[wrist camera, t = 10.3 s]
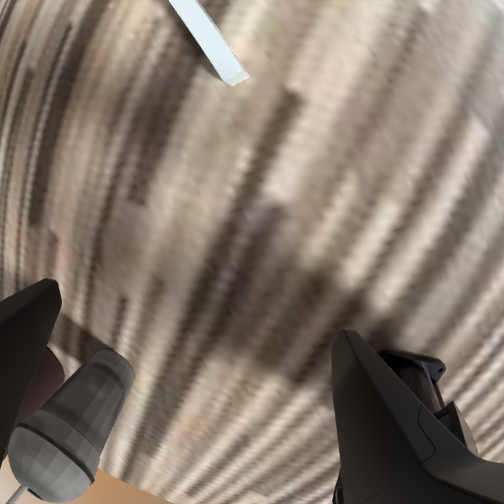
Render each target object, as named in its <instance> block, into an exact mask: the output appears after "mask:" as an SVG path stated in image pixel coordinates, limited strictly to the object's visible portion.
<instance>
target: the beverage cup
mask: <svg viewBox="0 0 504 504" xmlns="http://www.w3.org/2000/svg"><path fill="white" fill-rule="evenodd" d="M134 379H135V373H134V371H133V368H132V367H131V365H130V364H129V362H128V361H126V360H125V359H124V358H123V357H122V356H121V355H119V354H118V353H116V352H113V351H111V350H107V349H102V350H99V351H97V352H96V353H95V354H94V355H93V356H92V357H91V358H89V359H88V360H87V361H86V362H85V363H84V364H83V365H82V366H81V367H80V368H79V369H78V370H77V371H76V372H75V373H74V374H73V375H72V376H71V377H70V378H69V379H68V380H67V381H66V382H65V383H64V384H63V385H62V386H61V387H60V388H59V389H58V390H57V391H56V392H55V393H54V394H53V395H52V396H51V397H50V398H49V399H48V400H47V401H46V402H45V403H44V404H43V405H42V406H41V407H40V408H39V409H38V410H35V411H34V412H33V413H32V414H30V415H29V416H28V417H26V418H25V419H24V420H23V421H22V422H19V423H18V424H16V427H15V431H14V432H13V434H12V436H11V439H10V441H9V446H8V457H9V463H10V467H11V470H12V472H13V474H14V476H15V478H16V479H17V481H18V482H19V483H20V485H21V486H20V487H19V488H18V489H17V491H16V492H15V493H14V494H13V495H12V497H11V498H10V499H9V500H8V501H7V502H6V504H16V502H17V501H18V500H19V499H20V497H21V496H22V495H23V494H24V492H26V490H27V491H28V492H30V493H31V494H32V495H34V496H36V497H37V498H39V499H41V500H43V501H47V502H52V503H65V502H69V501H72V500H74V499H76V498H78V497H79V496H81V495H82V494H83V493H84V492H85V491H86V490H87V488H88V486H90V485H91V484H92V483H93V482H94V481H95V480H94V476H95V474H96V472H97V468H98V465H99V461H100V458H99V457H100V455H101V452H102V450H103V448H104V446H105V443H106V441H107V439H108V437H109V435H110V432H111V430H112V428H113V426H114V424H115V421H116V419H117V417H118V415H119V413H120V411H121V408H122V406H123V404H124V402H125V400H126V398H127V396H128V393H129V391H130V388H131V385H132V383H133V381H134Z"/></svg>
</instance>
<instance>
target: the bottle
mask: <svg viewBox="0 0 504 504" xmlns="http://www.w3.org/2000/svg"><path fill="white" fill-rule="evenodd" d="M64 377H65V375H64V372H63V368H62V366H61V364H60V363H59V361H58V359H57V358H56V357H55V355H54V354H53V353H52V352H51V351H50V350H49V349H48V348H47V347H46V348H45V351H44V353H43V355H42V357H41V359H40V362H39V364H38V366H37V368H36V371H35V373H34V375H33V378H32V380H31V382H30V385H29V387H28V390H27V392H26V395H25V397H24V400H23V402H22V405H21V408H20V410H19V413H18V416H17V418H16V421H15V424H14V427H13V430H12V433H11V435H10V438H9V441H10V439H11V436H12V434H13V432H14V431H15V427H16V424H18V423H19V422H22V421H23V420H24V419H25V418H26V417H28V416H29V415H30V414H32V413H33V412H34V411H35V410H38V409H39V408H40V407H41V406H42V405H43V404H44V403H45V402H46V401H47V400H48V399H49V398H50V397H51V396H52V395H53V394H54V393H55V392H56V391H57V390H58V388H59V387H60V386H61V385H62V384H63V382H64ZM9 441H8V445H7V448H6V451H5V455H4V458H3V460H4V459H5V457H6V456H7V455H8V446H9ZM2 462H3V461H2Z"/></svg>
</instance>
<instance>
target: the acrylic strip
mask: <svg viewBox="0 0 504 504" xmlns="http://www.w3.org/2000/svg"><path fill="white" fill-rule="evenodd" d="M169 2H170V3H171V4H172V6H173V7H174V9H175V10H176V11H177V13H178V14H179V16H180V17H181V19H182V20H183V21H184V23H185V24H186V26H187V27H188V29H189V30H190V32H191V33H192V34H193V36H194V37H195V39H196V40H197V42H198V43H199V45H200V46H201V48H202V49H203V51H204V52H205V54H206V55H207V57H208V58H209V60H210V62H211V63H212V65H213V66H214V68H215V69H216V71H217V72H218V74H219V75H220V77H221V79H222V80H223V82H225V83H227V84H228V85H230V86H232V87H233V86H235V85H237V84H238V83H240V82H242V81H243V80H245V79H247V78H249V77H250V75H249V74H248V72H247V71H246V69H245V67H244V66H243V64H242V63H241V61H240V60H239V58H238V57H237V55H236V54H235V52H234V51H233V49H232V48H231V46H230V45H229V43H228V42H227V41H226V39H225V38H224V36H223V35H222V33H221V32H220V30H219V29H218V28H217V26H216V25H215V23H214V22H213V21H212V19H211V18H210V16H209V15H208V14H207V12H206V11H205V9H204V8H203V7H202V5H201V4H200V3H199V1H198V0H169Z"/></svg>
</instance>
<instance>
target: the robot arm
mask: <svg viewBox="0 0 504 504" xmlns="http://www.w3.org/2000/svg"><path fill="white" fill-rule="evenodd" d="M61 305H62V299H61V294H60V290H59V285H58V282H57V281H56V280H54V279H49V278H45V279H43V280H41V281H39V282H37V283H35V284H33V285H31V286H29V287H27V288H25V289H23V290H21V291H19V292H17V293H15V294H13V295H11V296H10V297H8V298H6V299H4V300H2V301H0V468H1V465H2V461H3V458H4V455H5V451H6V448H7V445H8V441H9V438H10V435H11V433H12V430H13V427H14V424H15V421H16V418H17V416H18V413H19V410H20V408H21V405H22V402H23V400H24V397H25V395H26V392H27V390H28V387H29V385H30V382H31V380H32V378H33V375H34V373H35V371H36V368H37V366H38V364H39V362H40V359H41V357H42V355H43V353H44V351H45V348H46V346H47V344H48V341H49V339H50V336H51V333H52V330H53V327H54V325H55V322H56V319H57V317H58V314H59V311H60V309H61ZM384 356H387V357H385V358H383V357H384ZM440 368H441V369H440ZM445 370H446V367H445V365H444V363H441V362H437V361H432V360H427V359H423V358H418V357H414V356H409V355H405V354H400V353H396V352H392V351H388V350H384V351H381V352H380V353H379V354H377V353H376V352H375V351H374V350H373V349H372V348H371V347H370V346H369V344H368V343H367V342H366V341H365V340H364V339H363V338H362V337H361V336H360V335H359V334H358V333H357V332H356V331H355V330H354V329H345V328H344V329H341V331H340V332H339V334H338V336H337V339H336V341H335V343H334V345H333V347H332V393H333V403H334V411H335V419H336V427H337V435H338V444H339V453H340V463H341V468H340V472H339V476H338V479H337V483H336V486H335V490H334V494H333V499H332V503H333V504H504V464H502V463H496V462H491V461H487V460H484V459H481V458H479V456H478V450H477V447H476V444H475V442H474V439H473V436H472V434H471V431H470V429H469V426H468V425H467V423H466V421H465V419H464V418H463V416H462V414H461V412H460V411H459V409H458V407H457V405H456V404H455V402H454V401H452V402H450V403H449V404H447V406H446V407H445V404H444V402H443V399H442V396H441V393H440V391H439V388H438V385H437V381H438V380H439V379H440V377H441V376H442V375H443V373H444V372H445Z"/></svg>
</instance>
